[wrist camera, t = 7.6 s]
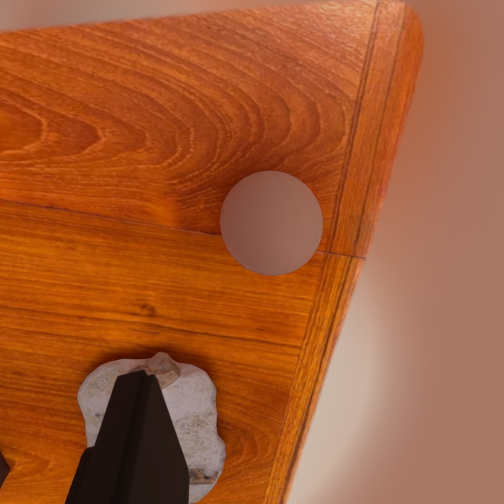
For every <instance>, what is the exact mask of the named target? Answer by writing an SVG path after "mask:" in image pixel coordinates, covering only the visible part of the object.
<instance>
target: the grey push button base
mask: <svg viewBox="0 0 504 504" xmlns="http://www.w3.org/2000/svg"><path fill="white" fill-rule="evenodd" d="M9 471H10V470H9V468H8V466H7V464H6V462H5V461H4V459H3V457H2V455H1V453H0V488H1V486H2V484H3V482H4V480H5V478H6V477H7V475H8V473H9Z"/></svg>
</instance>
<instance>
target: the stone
mask: <svg viewBox="0 0 504 504" xmlns="http://www.w3.org/2000/svg"><path fill="white" fill-rule="evenodd" d="M139 370H145V371H146V373H147V374H148V375H151V374H155V375H156V377H157V379H158V382H159V385H160V388H161V391H162V394H163V396H164V399H165V402H166V405H167V408H168V411H169V414H170V417H171V419H172V422H173V425H174V428H175V431H176V434H177V437H178V440H179V443H180V445H181V448H182V451H183V454H184V457H185V460H186V463H187V466H188V471H189V480H190V484H189V504H191V503H196V502H198V501H199V500H201V499H202V498H203V497H204V496H205V495H207V494H208V492H209V491H210V490H211V489H212V488H213V487H214V485H215V484H216V482H217V480H218V477H219V476H220V474H221V473H222V470H223V464H224V461H225V455H226V451H225V444H224V441H223V440H222V439H221V438H220V437H219V436H218V433H217V427H216V424H217V411H216V401H215V399H216V392H217V390H216V387H215V385H214V383H213V381H212V380H211V379H210V378H209V376H208V374H207V373H206V372H205V371H203V370H202V369H200V368H198V367H196V366H194V365H191V364H185V363H178V362H176V361H174V360H173V359H172V358H171V357H170V356H169V355H168V354H167V353H163V352H158V353H157V354H155V355H154V356H153V357H152V358H149V359H120V360H116V361H110V362H107V363H104V364H102V365H100V366H99V367H97V368H96V369H95V370H94V371H92V372H91V373H90V374H89V375H88V376H87V377H86V378H85V380H84V381H83V383H82V385H81V386H80V388H79V390H78V402H79V407H80V408H81V411H82V413H83V416H84V419H85V425H86V426H85V430H86V437H87V440H88V445H87V448H88V447H91V446H94V445H95V442H96V439H97V435H98V432H99V429H100V426H101V423H102V420H103V417H104V414H105V411H106V408H107V405H108V402H109V399H110V396H111V393H112V390H113V386H114V383H115V380H116V378H117V376H119V375H122V374H127V373H131V372H135V371H139Z"/></svg>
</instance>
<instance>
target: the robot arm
mask: <svg viewBox="0 0 504 504" xmlns="http://www.w3.org/2000/svg"><path fill="white" fill-rule="evenodd" d="M189 484H190V480H189V471H188V466H187V463H186V460H185V457H184V454H183V451H182V448H181V445H180V443H179V440H178V437H177V434H176V431H175V428H174V425H173V422H172V419H171V417H170V414H169V411H168V408H167V405H166V402H165V399H164V396H163V394H162V391H161V388H160V385H159V382H158V379H157V377H156V375H155V374H151V375H148V374H147V373H146V371H145V370H139V371H135V372H131V373H127V374H122V375H119V376H117V378H116V380H115V383H114V386H113V390H112V393H111V396H110V399H109V402H108V405H107V408H106V411H105V414H104V417H103V420H102V423H101V426H100V429H99V432H98V435H97V439H96V442H95V445H94V446H91V447H88V448H87V449H86V450H85V451H84V452H83V454H82V456H81V459H80V462H79V465H78V468H77V470H76V473H75V476H74V479H73V482H72V485H71V487H70V490H69V493H68V496H67V499H66V502H65V504H189Z"/></svg>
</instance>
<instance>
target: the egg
mask: <svg viewBox="0 0 504 504" xmlns="http://www.w3.org/2000/svg"><path fill="white" fill-rule="evenodd" d="M220 228H221V233H222V238H223V241H224V243H225V245H226V248H227V250H228V251H229V253H230V254H231V255H232V256H233V257H234V259H235V260H236V261H237V262H239V263H240V264H241V265H242V266H243V267H244V268H246V269H248V270H250V271H252V272H255V273H258V274H261V275H271V276H275V275H283V274H288V273H290V272H292V271H294V270H297V269H299V268H300V267H301V266H302V265H304V264H305V263H306V262H307V261H308V260H309V259H310V258H311V257H312V255H313V254H314V252H315V251H316V249H317V247H318V246H319V243H320V240H321V237H322V231H323V218H322V213H321V209H320V206H319V203H318V201H317V199H316V198H315V196H314V194H313V192H312V191H311V190H310V189H309V188H308V187H307V186H306V185H305V184H304V183H303V182H301V181H300V180H299V179H297V178H296V177H294V176H291V175H289V174H286V173H284V172H279V171H271V170H269V171H263V172H256V173H254V174H251V175H249V176H247V177H245V178H243V179H242V180H241V181H239V182H238V183H237V184H236V185H235V186H233V188H232V189H231V190H230V192H229V193H228V194H227V196H226V198H225V200H224V202H223V206H222V209H221V215H220Z"/></svg>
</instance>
